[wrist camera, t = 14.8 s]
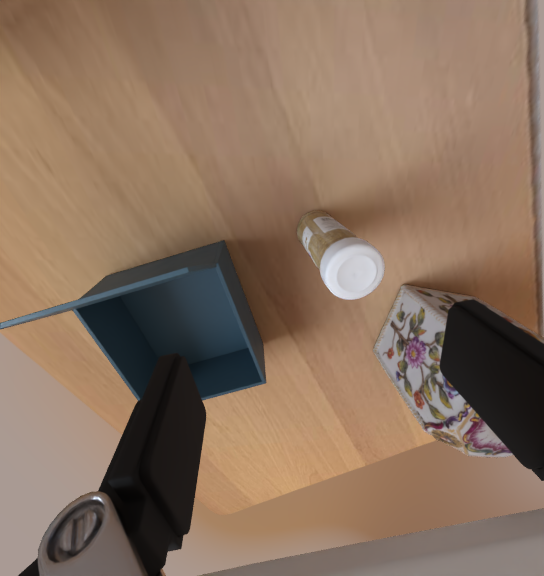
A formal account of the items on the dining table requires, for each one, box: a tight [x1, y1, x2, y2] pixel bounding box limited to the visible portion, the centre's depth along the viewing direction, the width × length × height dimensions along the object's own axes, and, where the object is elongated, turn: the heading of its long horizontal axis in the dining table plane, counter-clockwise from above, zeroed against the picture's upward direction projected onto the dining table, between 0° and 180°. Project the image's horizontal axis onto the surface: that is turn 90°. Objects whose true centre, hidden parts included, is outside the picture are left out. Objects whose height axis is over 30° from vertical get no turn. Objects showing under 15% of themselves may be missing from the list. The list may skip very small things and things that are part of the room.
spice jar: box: [297, 211, 385, 300], centre depth 26 cm, size 5×5×14 cm
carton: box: [73, 240, 266, 401], centre depth 32 cm, size 16×15×7 cm
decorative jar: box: [373, 285, 544, 458], centre depth 31 cm, size 12×12×18 cm
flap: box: [0, 263, 217, 329], centre depth 21 cm, size 8×15×1 cm
